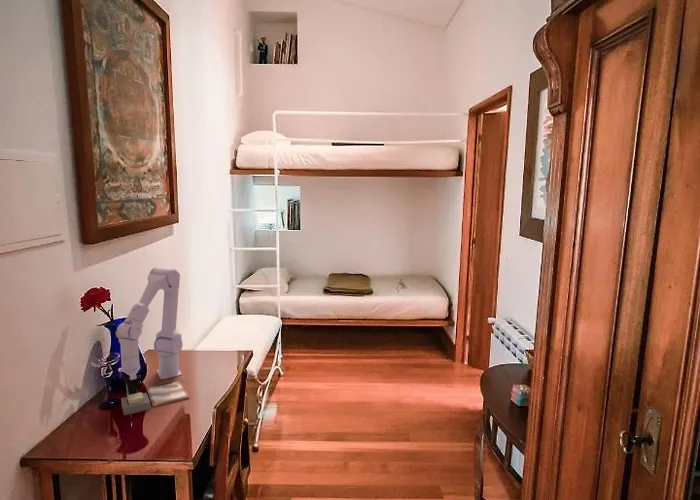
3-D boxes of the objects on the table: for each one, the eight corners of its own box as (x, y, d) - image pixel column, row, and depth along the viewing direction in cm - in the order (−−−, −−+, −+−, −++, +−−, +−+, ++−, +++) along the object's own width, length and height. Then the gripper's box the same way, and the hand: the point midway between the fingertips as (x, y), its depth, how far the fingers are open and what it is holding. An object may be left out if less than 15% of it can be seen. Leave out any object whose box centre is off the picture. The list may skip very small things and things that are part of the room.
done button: (127, 402, 146) (127, 395, 145) (141, 399, 148) (141, 392, 148) (129, 407, 142) (128, 400, 142) (143, 404, 144) (143, 397, 144)
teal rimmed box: (126, 394, 154) (125, 376, 153) (136, 392, 156) (135, 374, 155) (127, 398, 151) (126, 380, 150) (137, 396, 153) (136, 378, 152)
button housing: (121, 405, 146) (121, 398, 146) (146, 399, 151) (146, 392, 150) (123, 415, 140) (123, 408, 139) (150, 409, 144) (149, 401, 144)
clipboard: (146, 389, 159) (146, 386, 158) (179, 381, 165) (179, 378, 165) (153, 407, 145) (152, 403, 145) (189, 398, 152) (189, 395, 152)
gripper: (115, 351, 155) (117, 386, 157) (119, 364, 143) (121, 402, 145) (137, 347, 159) (138, 381, 161) (142, 360, 147) (144, 397, 149)
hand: (132, 391), depth 153 cm, fingers open, 5 cm apart
